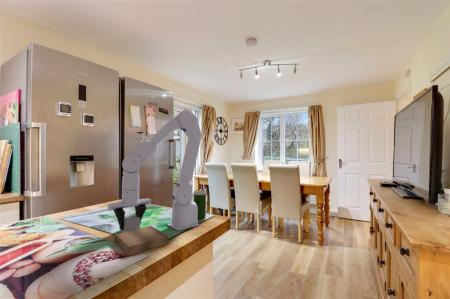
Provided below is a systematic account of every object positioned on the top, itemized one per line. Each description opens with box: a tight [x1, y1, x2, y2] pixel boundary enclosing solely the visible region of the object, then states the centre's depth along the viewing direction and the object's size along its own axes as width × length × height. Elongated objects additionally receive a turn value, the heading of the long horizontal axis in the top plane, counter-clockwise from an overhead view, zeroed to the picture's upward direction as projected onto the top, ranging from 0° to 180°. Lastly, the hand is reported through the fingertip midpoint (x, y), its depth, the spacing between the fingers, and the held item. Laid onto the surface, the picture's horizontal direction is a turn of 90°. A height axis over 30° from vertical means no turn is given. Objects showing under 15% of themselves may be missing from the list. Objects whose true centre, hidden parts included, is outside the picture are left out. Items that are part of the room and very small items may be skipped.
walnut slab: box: [114, 225, 169, 257], centre depth 70 cm, size 12×12×3 cm
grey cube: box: [119, 214, 141, 233], centre depth 79 cm, size 5×5×5 cm
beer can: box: [192, 189, 207, 222], centre depth 94 cm, size 5×5×12 cm
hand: (129, 227), depth 79 cm, fingers closed on grey cube, 5 cm apart
